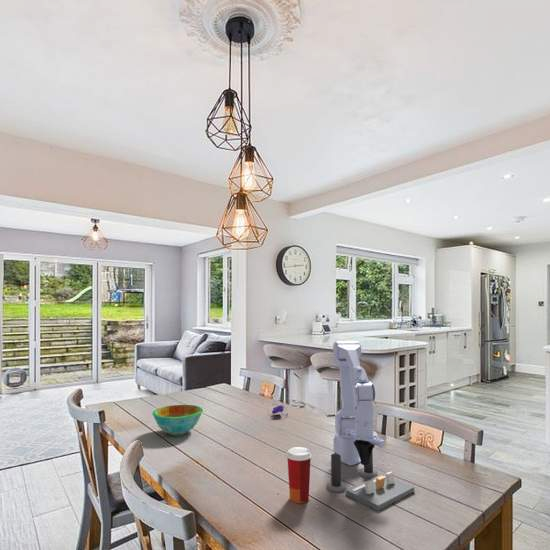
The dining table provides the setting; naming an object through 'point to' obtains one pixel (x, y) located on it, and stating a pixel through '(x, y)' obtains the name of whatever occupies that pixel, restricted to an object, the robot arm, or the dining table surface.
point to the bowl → (177, 418)
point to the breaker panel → (380, 493)
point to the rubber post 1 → (336, 475)
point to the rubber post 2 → (369, 469)
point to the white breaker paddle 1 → (369, 487)
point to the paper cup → (299, 474)
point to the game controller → (278, 409)
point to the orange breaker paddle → (380, 482)
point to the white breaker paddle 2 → (389, 477)
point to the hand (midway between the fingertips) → (365, 464)
